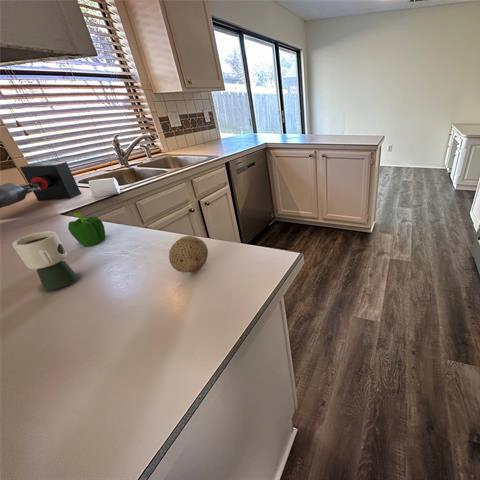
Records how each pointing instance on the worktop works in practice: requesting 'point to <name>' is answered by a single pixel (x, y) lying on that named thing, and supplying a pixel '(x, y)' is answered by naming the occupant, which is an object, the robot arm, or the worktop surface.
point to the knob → (42, 181)
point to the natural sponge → (188, 254)
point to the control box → (53, 180)
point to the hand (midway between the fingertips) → (38, 183)
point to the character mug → (46, 259)
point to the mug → (104, 187)
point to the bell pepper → (87, 230)
